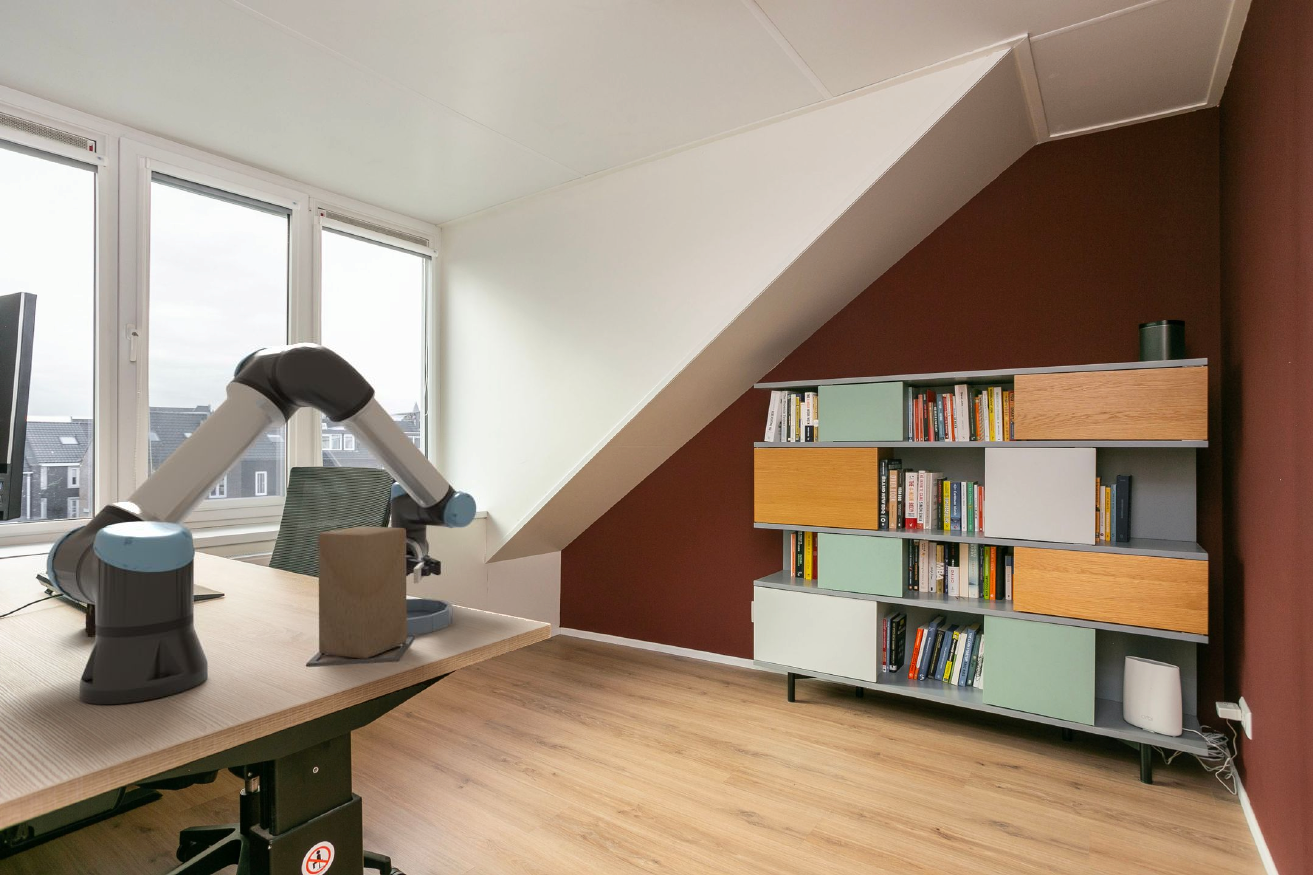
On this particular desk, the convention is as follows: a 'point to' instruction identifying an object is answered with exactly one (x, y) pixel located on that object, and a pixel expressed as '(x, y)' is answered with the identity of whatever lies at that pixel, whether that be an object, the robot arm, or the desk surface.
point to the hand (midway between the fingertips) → (376, 577)
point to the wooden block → (362, 591)
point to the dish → (427, 615)
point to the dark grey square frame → (397, 657)
